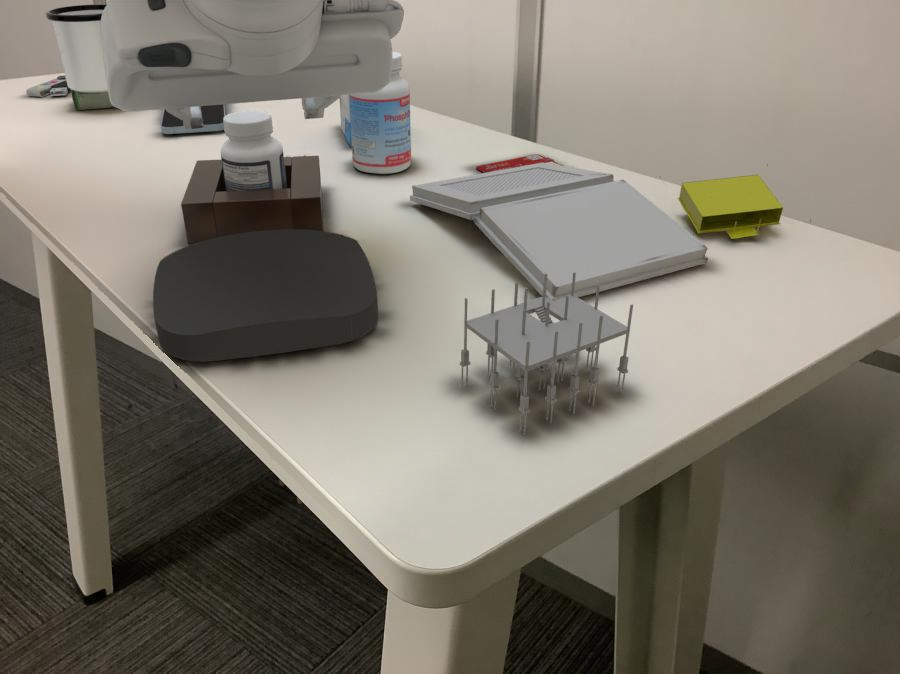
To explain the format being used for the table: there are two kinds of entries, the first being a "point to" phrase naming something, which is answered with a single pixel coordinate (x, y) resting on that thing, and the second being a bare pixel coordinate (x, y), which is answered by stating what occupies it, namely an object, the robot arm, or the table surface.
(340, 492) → the table surface
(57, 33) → the mug
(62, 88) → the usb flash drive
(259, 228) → the holder
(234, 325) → the media streaming box
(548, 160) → the card
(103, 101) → the medication box
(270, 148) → the pill bottle
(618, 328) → the building frame
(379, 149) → the pill bottle
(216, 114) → the smartphone
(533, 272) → the gadget
